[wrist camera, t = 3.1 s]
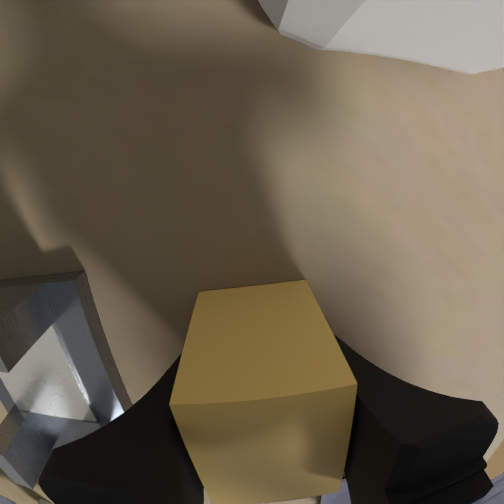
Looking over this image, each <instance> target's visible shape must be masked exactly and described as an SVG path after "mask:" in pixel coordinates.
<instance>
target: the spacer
mask: <svg viewBox="0 0 504 504" xmlns="http://www.w3.org/2000/svg"><path fill="white" fill-rule="evenodd" d="M356 392H357V382H356V380H355V378H354V375H353V373H352V371H351V369H350V367H349V365H348V363H347V361H346V359H345V357H344V355H343V353H342V351H341V349H340V347H339V345H338V343H337V341H336V339H335V337H334V335H333V333H332V331H331V329H330V327H329V325H328V323H327V321H326V319H325V317H324V315H323V313H322V311H321V309H320V307H319V305H318V303H317V301H316V299H315V297H314V295H313V293H312V291H311V289H310V287H309V285H308V283H307V281H306V280H298V281H290V282H282V283H273V284H265V285H256V286H247V287H238V288H229V289H219V290H210V291H200V292H198V296H197V299H196V303H195V307H194V310H193V314H192V318H191V321H190V325H189V329H188V333H187V336H186V340H185V344H184V348H183V352H182V355H181V359H180V363H179V367H178V371H177V375H176V379H175V383H174V387H173V391H172V395H171V399H170V403H169V405H170V408H171V411H172V413H173V416H174V419H175V421H176V424H177V426H178V429H179V431H180V434H181V436H182V439H183V441H184V443H185V446H186V448H187V451H188V453H189V455H190V458H191V460H192V462H193V464H194V467H195V469H196V471H197V473H198V475H199V478H200V480H201V482H202V484H203V486H204V488H205V490H206V492H207V494H208V496H209V498H210V500H211V502H212V504H259V503H270V502H280V501H288V500H295V499H302V498H308V497H314V496H320V495H325V494H330V493H335V492H340V487H341V482H342V478H343V473H344V468H345V463H346V457H347V452H348V446H349V440H350V434H351V428H352V422H353V415H354V408H355V400H356Z"/></svg>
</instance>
